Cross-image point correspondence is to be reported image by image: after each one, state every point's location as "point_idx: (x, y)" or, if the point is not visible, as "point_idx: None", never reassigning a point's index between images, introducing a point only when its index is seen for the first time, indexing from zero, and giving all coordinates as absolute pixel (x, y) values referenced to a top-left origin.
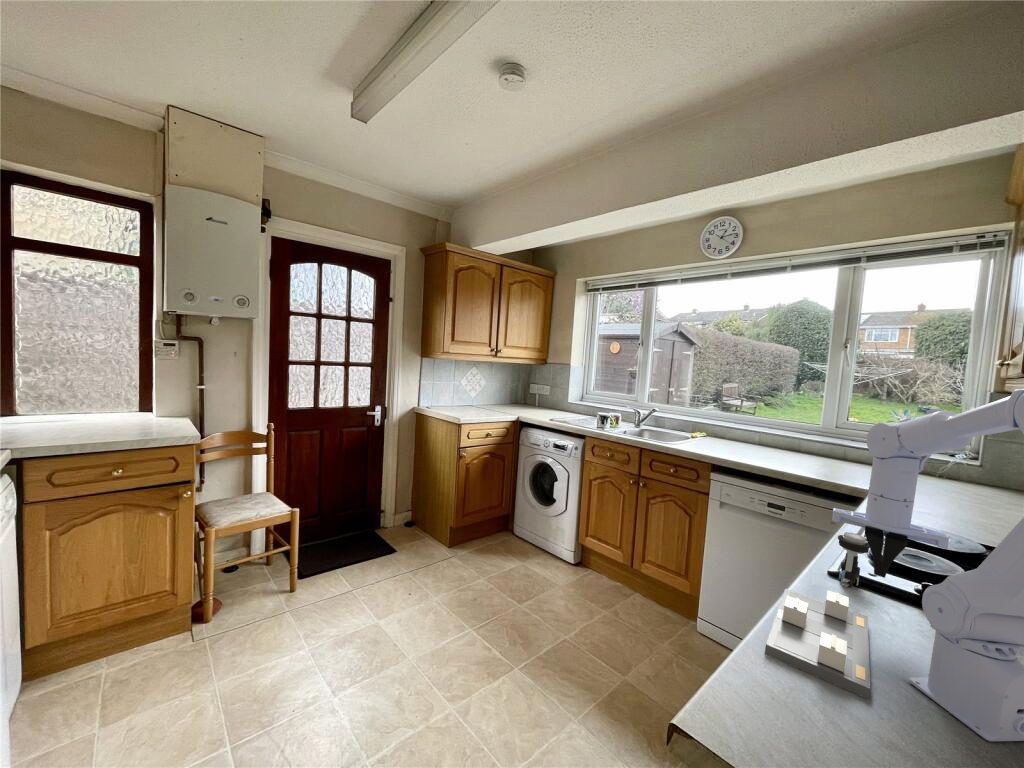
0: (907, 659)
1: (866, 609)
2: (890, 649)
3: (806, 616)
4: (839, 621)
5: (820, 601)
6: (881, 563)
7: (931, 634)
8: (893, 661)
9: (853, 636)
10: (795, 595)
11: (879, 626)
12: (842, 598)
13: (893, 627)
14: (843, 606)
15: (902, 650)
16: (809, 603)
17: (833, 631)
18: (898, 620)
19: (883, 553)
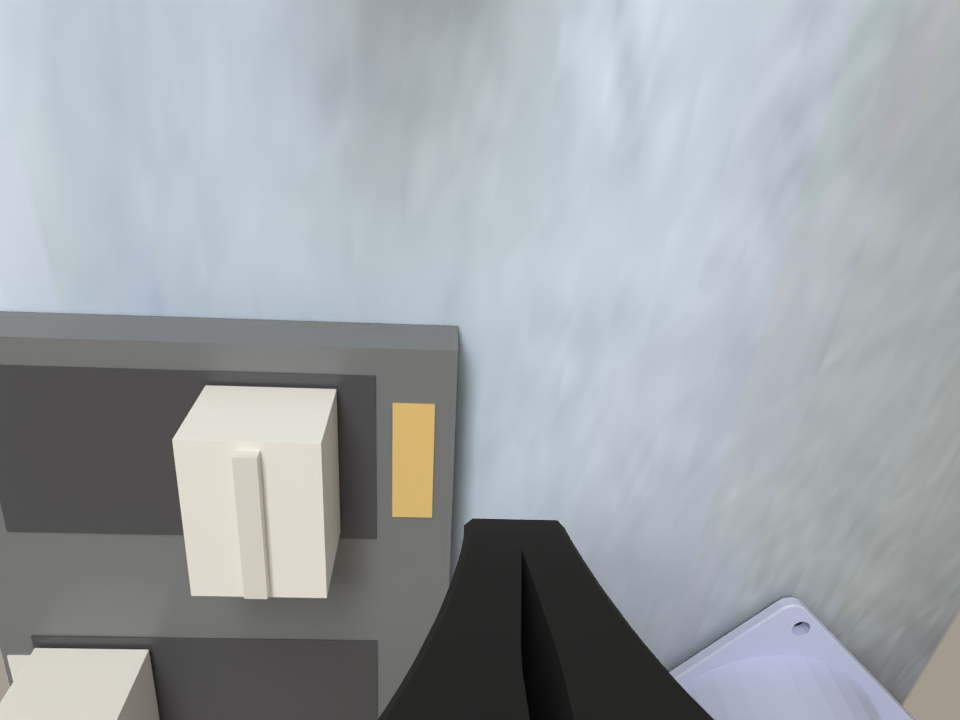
0: (618, 550)
1: (473, 39)
2: (555, 514)
3: (145, 682)
4: None
5: (170, 359)
6: (526, 665)
7: (848, 114)
8: None
9: (380, 652)
10: (15, 406)
11: (533, 274)
12: (282, 497)
13: (618, 213)
14: (299, 592)
15: (613, 479)
16: (119, 457)
17: (289, 679)
18: (675, 51)
19: (556, 710)
